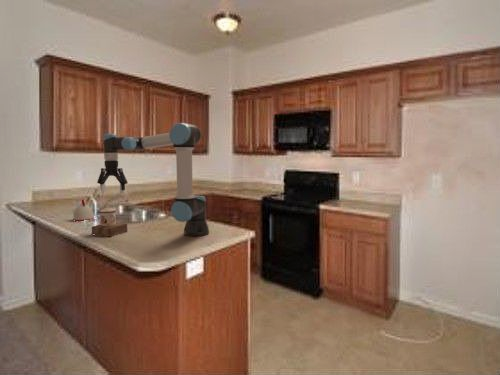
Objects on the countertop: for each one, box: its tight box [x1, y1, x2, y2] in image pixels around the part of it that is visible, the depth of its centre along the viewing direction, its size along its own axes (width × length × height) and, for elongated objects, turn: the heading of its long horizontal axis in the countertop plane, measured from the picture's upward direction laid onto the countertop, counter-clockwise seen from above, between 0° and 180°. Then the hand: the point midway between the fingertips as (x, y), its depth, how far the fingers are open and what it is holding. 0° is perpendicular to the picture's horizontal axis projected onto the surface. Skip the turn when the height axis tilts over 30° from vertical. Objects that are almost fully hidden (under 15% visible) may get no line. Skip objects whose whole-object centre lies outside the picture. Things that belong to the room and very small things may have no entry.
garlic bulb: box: [72, 199, 95, 221], centre depth 239 cm, size 14×14×15 cm
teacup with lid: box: [99, 205, 117, 226], centre depth 199 cm, size 12×9×12 cm
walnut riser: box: [91, 222, 128, 238], centre depth 200 cm, size 14×14×5 cm
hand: (112, 195), depth 200 cm, fingers open, 13 cm apart
